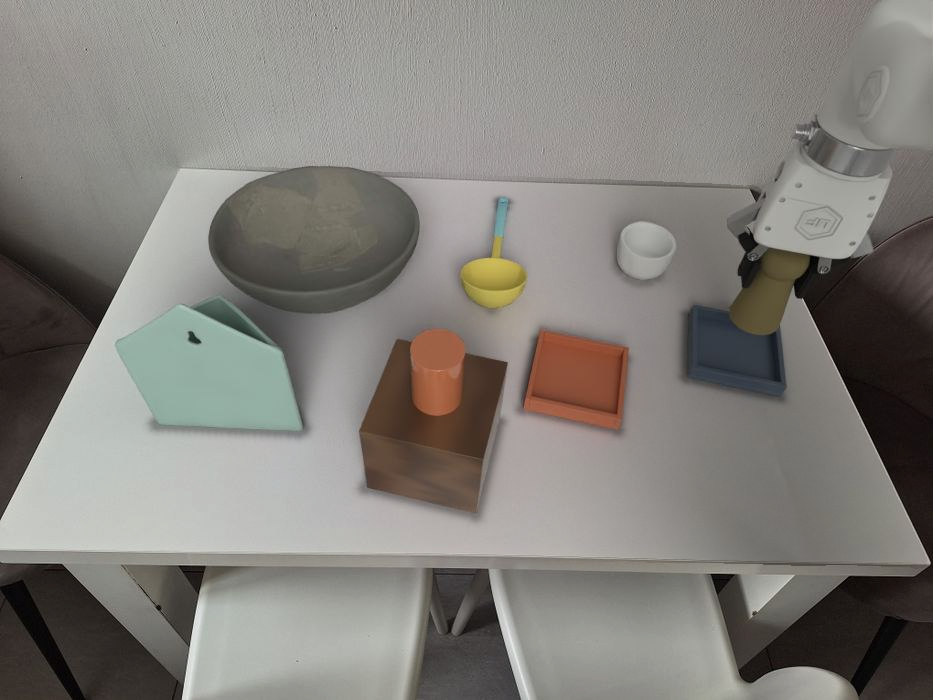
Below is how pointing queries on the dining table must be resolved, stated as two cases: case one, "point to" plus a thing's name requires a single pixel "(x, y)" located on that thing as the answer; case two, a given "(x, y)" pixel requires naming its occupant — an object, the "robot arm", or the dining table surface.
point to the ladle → (494, 271)
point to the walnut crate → (432, 434)
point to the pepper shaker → (768, 292)
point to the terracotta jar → (437, 371)
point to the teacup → (645, 250)
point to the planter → (211, 369)
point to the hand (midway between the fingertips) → (771, 283)
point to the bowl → (314, 237)
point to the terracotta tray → (578, 379)
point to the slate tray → (733, 353)
